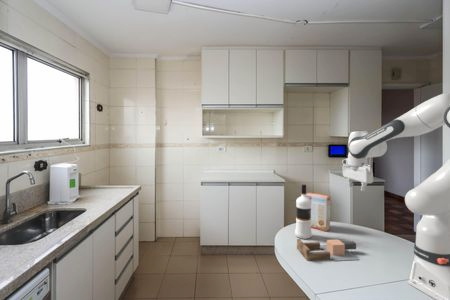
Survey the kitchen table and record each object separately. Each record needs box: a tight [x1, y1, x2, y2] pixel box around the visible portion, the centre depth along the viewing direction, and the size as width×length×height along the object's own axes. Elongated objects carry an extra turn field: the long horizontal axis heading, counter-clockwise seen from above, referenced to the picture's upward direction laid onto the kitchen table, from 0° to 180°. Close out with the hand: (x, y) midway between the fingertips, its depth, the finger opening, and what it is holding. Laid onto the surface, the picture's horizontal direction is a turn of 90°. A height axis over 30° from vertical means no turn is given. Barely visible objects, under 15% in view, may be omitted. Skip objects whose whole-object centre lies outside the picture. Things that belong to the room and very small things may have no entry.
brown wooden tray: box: [296, 238, 331, 261], centre depth 124 cm, size 12×12×5 cm
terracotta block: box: [326, 239, 357, 255], centre depth 125 cm, size 6×13×5 cm, turn 96°
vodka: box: [294, 184, 313, 240], centre depth 144 cm, size 9×9×30 cm
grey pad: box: [320, 244, 360, 262], centre depth 125 cm, size 16×12×1 cm
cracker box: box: [306, 192, 331, 232], centre depth 158 cm, size 14×6×21 cm, turn 44°
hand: (356, 188), depth 130 cm, fingers open, 8 cm apart
